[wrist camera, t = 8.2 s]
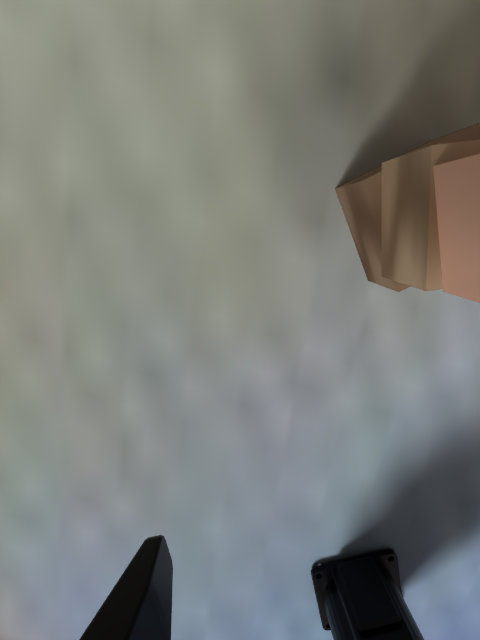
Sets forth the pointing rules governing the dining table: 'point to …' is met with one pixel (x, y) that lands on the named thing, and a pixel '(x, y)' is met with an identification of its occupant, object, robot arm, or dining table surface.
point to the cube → (459, 225)
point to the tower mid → (415, 214)
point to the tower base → (379, 210)
